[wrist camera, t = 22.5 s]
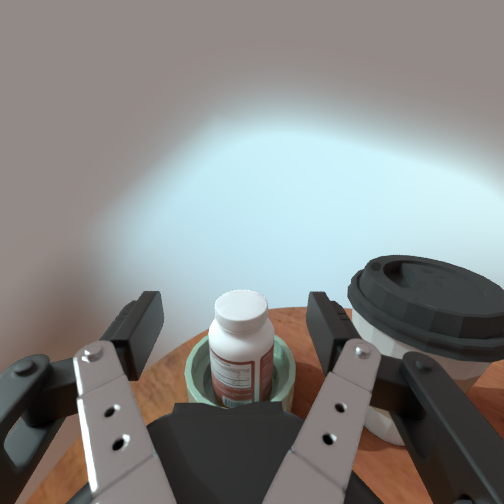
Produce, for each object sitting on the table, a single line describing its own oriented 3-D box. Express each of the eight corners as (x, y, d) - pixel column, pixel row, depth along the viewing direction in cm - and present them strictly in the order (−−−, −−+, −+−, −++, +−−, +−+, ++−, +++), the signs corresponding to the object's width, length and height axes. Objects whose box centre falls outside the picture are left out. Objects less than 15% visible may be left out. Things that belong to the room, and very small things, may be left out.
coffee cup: (340, 349, 32) (362, 242, 26) (447, 390, 26) (505, 267, 20) (314, 427, 23) (338, 290, 17) (468, 514, 17) (583, 359, 11)
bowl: (231, 483, 19) (230, 448, 17) (171, 388, 26) (165, 357, 24) (313, 396, 25) (318, 365, 24) (246, 340, 33) (246, 313, 31)
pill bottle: (253, 358, 29) (254, 279, 25) (283, 400, 24) (291, 311, 20) (204, 380, 27) (196, 294, 22) (227, 432, 22) (223, 336, 17)
